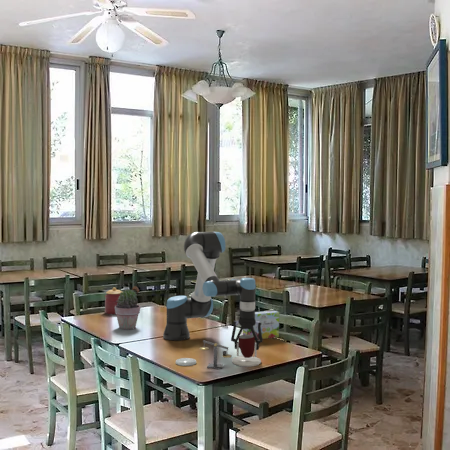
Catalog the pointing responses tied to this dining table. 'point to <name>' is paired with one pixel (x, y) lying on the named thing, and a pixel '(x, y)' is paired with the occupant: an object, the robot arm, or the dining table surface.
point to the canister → (111, 300)
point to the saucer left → (185, 361)
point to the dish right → (246, 361)
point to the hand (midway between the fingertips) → (246, 355)
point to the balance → (215, 365)
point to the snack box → (266, 324)
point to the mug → (247, 345)
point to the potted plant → (127, 309)
